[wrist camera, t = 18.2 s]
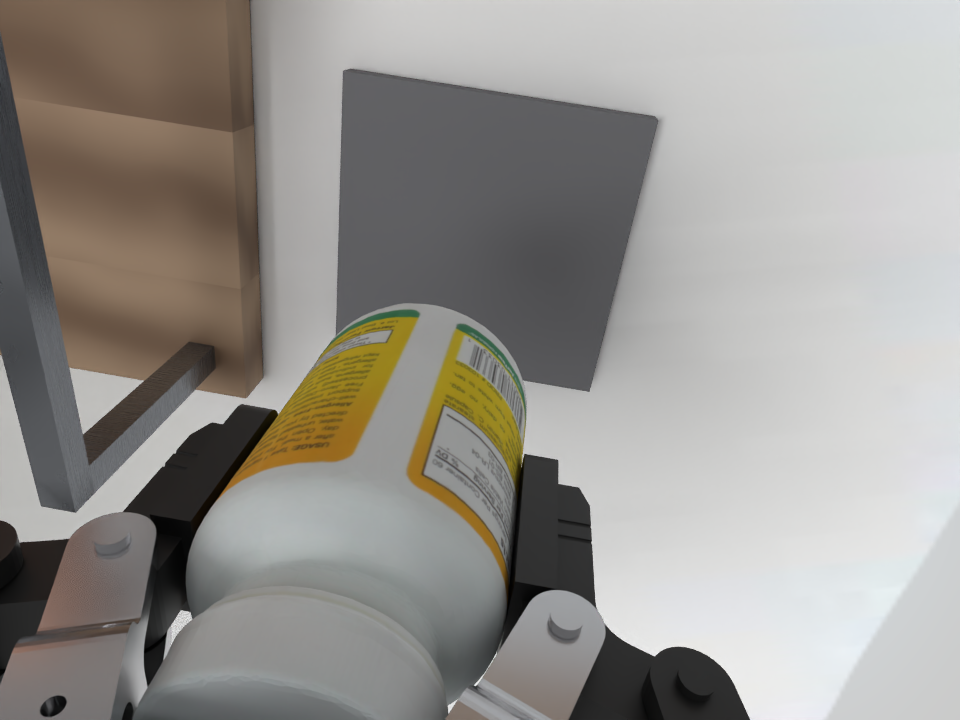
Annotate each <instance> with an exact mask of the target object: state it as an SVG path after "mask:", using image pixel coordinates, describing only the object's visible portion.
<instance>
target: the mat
mask: <svg viewBox="0 0 960 720" xmlns="http://www.w3.org/2000/svg"><path fill="white" fill-rule="evenodd" d="M657 123H658V120H657V118H656V117H654V116H648V115H642V114H635V113H629V112H622V111H616V110H610V109H603V108H597V107H591V106H584V105H578V104H571V103H565V102H559V101H552V100H546V99H539V98H533V97H527V96H520V95H514V94H508V93H501V92H495V91H488V90H482V89H476V88H469V87H463V86H456V85H450V84H444V83H437V82H431V81H425V80H418V79H412V78H405V77H399V76H393V75H386V74H380V73H373V72H367V71H361V70H354V69H349V70H345V71H343V94H342V131H341V168H340V205H339V242H338V279H337V316H336V335H337V334H338V333H339V332H340V331H342V330H343V329H344V328H345V327H346V326H347V325H349V324H350V323H352V322H353V321H355V320H356V319H358V318H360V317H361V316H364V315H366V314H368V313H371V312H373V311H376V310H378V309H382V308H385V307H389V306H393V305H397V304H403V303H413V304H429V305H436V306H440V307H444V308H448V309H451V310H454V311H456V312H459V313H461V314H463V315H466V316H468V317H469V318H471V319H473V320H475V321H476V322H478V323H479V324H481V325H483V326H484V327H485V328H487V329H488V330H489V331H490V332H491V333H492V334H494V335H495V336H496V337H497V338H498V339H499V341H500V342H501V343H502V344H503V345H504V346H505V347H506V349H507V350H508V352H509V353H510V355H511V356H512V358H513V359H514V361H515V363H516V365H517V367H518V369H519V372H520V374H521V377H522V380H524V381H530V382H536V383H542V384H547V385H553V386H559V387H565V388H571V389H577V390H582V391H588V392H590V388H591V384H592V380H593V376H594V372H595V368H596V364H597V360H598V356H599V352H600V348H601V344H602V340H603V336H604V332H605V328H606V324H607V321H608V317H609V313H610V309H611V305H612V301H613V297H614V293H615V289H616V285H617V281H618V277H619V273H620V269H621V265H622V261H623V257H624V253H625V249H626V245H627V242H628V238H629V234H630V230H631V226H632V222H633V218H634V214H635V210H636V206H637V202H638V198H639V194H640V190H641V186H642V182H643V178H644V174H645V170H646V167H647V163H648V159H649V155H650V151H651V147H652V143H653V139H654V135H655V131H656V127H657Z"/></svg>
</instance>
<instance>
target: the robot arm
mask: <svg viewBox="0 0 960 720" xmlns="http://www.w3.org/2000/svg"><path fill="white" fill-rule="evenodd" d="M277 416H278V413H277V411H276V410H272V409H267V408H261V407H255V406H249V405H244V404H241V405H239V406H238V407H237V408H236V409H235V410H234V412H233V413H232V414H231V415H230V417H229V418H228V419H227V420H226V421H225V423H224V424H217V423H210V424H208V425H207V426H205V427H203V428H201V429H200V430H198V431H196V432H194V433H193V434H191V435H190V436H189V437H188V438H187V439H186V440H185V441H184V443H183V444H182V445H181V446H180V447H179V448H178V449H177V451H176V454H173V455H172V456H171V457H170V459H169V460H168V461H167V462H166V463H165V467H162V468H161V469H160V470H159V471H158V472H157V473H156V475H155V476H154V477H153V478H152V479H151V480H150V481H149V483H148V484H147V485H146V486H145V487H144V488H143V489H142V491H141V492H140V493H139V494H138V495H137V496H136V497H135V499H134V500H133V501H132V502H131V503H130V504H129V505H128V507H127V508H126V509H125V510H124V511H123V512H119V513H112V514H108V515H104V516H101V517H98V518H96V519H94V520H91V521H89V522H88V523H86V524H84V525H83V526H82V527H80V528H79V529H78V530H77V531H76V532H75V533H74V534H73V535H72V536H71V537H70V539H64V540H51V541H37V542H22V543H19V540H18V536H17V533H16V530H15V529H14V527H12V526H11V525H10V524H8V523H6V522H4V521H0V720H132V719H133V716H134V713H135V711H136V709H137V706H138V704H139V702H140V700H141V698H142V696H143V695H144V693H145V691H146V690H147V688H148V686H149V684H150V683H151V681H152V679H153V678H154V676H155V674H156V673H157V671H158V669H159V667H160V666H161V664H162V662H163V661H164V659H165V657H166V656H167V654H168V651H169V649H170V647H171V639H172V631H171V624H172V623H173V621H174V620H175V618H176V616H177V615H178V613H179V612H180V610H184V611H189V612H190V608H189V604H188V599H187V591H186V567H187V561H188V555H189V551H190V548H191V545H192V542H193V539H194V537H195V534H196V532H197V530H198V528H199V526H200V525H201V523H202V521H203V519H204V518H205V516H206V515H207V513H208V512H209V510H210V509H211V507H212V506H213V504H214V503H215V502H216V500H217V499H218V498H219V496H220V495H221V493H222V492H223V491H224V489H225V488H226V487H227V485H228V484H229V482H230V481H231V479H232V478H233V476H234V475H235V474H236V472H237V471H238V470H239V468H240V467H241V466H242V465H243V463H244V462H245V461H246V459H247V458H248V456H249V455H250V454H251V452H252V451H253V450H254V448H255V447H256V445H257V444H258V443H259V441H260V440H261V438H262V437H263V435H264V434H265V433H266V431H267V430H268V429H269V427H270V426H271V425H272V423H273V422H274V421H275V419H276V418H277ZM590 526H591V520H590V506H589V504H588V502H587V501H586V499H585V497H584V495H583V494H582V492H581V490H580V489H579V488H578V487H572V486H566V485H561V484H558V460H555V459H550V458H544V457H538V456H533V455H527V454H525V455H524V458H523V462H522V467H521V475H520V485H519V494H518V505H517V516H516V526H515V537H514V546H513V556H512V565H511V576H510V586H509V595H508V606H507V613H506V620H505V627H504V631H503V634H502V638H501V641H500V644H499V647H498V649H497V655H496V657H495V658H494V660H493V662H492V663H491V665H490V666H489V668H488V670H487V671H486V673H485V674H484V676H483V678H482V679H481V681H480V682H479V683H478V685H477V686H474V685H470V686H468V687H467V688H466V689H465V690H464V692H463V693H462V694H461V696H460V697H459V699H458V700H457V702H456V703H455V705H454V707H453V708H452V710H451V711H450V713H449V714H448V716H447V717H446V719H445V720H750V719H749V716H748V714H747V712H746V710H745V708H744V705H743V703H742V701H741V699H740V697H739V694H738V692H737V690H736V688H735V686H734V684H733V682H732V680H731V678H730V677H729V675H728V674H727V673H726V671H725V670H724V669H723V668H722V667H721V666H720V665H719V664H718V663H716V662H715V661H714V660H713V659H711V658H710V657H708V656H707V655H705V654H703V653H701V652H699V651H696V650H694V649H690V648H686V647H671V648H667V649H665V650H663V651H661V652H659V653H658V654H657V655H656V656H655V657H654V656H652V655H650V654H648V653H646V652H644V651H642V650H640V649H638V648H636V647H634V646H631V645H630V644H628V643H626V642H624V641H623V640H621V639H620V638H618V637H617V636H616V635H615V634H614V633H612V632H611V631H610V630H609V628H608V627H607V626H606V625H605V624H604V621H603V619H602V617H601V615H600V613H599V612H598V611H597V608H596V603H595V590H594V572H593V555H592V544H591V541H592V537H591V528H590Z"/></svg>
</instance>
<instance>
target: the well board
mask: <svg viewBox="0 0 960 720" xmlns="http://www.w3.org/2000/svg"><path fill="white" fill-rule="evenodd" d="M0 32H1V37H2V42H3V47H4V52H5V57H6V62H7V67H8V72H9V76H10V81H11V86H12V91H13V96H14V101H15V106H16V111H17V116H18V120H19V125H20V130H21V135H22V140H23V145H24V150H25V155H26V160H27V165H28V169H29V174H30V179H31V184H32V189H33V194H34V199H35V204H36V209H37V214H38V218H39V223H40V228H41V233H42V238H43V243H44V248H45V253H46V258H47V262H48V267H49V272H50V277H51V282H52V287H53V292H54V297H55V302H56V307H57V311H58V316H59V321H60V326H61V331H62V336H63V341H64V346H65V351H66V356H67V360H68V365H69V367H70V368H76V369H82V370H87V371H93V372H99V373H105V374H110V375H116V376H122V377H127V378H133V379H139V380H146V379H147V378H148V377H149V376H150V375H152V374H153V373H154V372H155V371H156V370H157V369H158V368H160V367H161V366H162V365H163V364H164V363H165V362H166V361H167V360H169V359H170V358H171V357H172V356H173V355H174V354H175V353H177V352H178V351H179V350H180V349H181V348H182V347H183V346H184V345H186V344H187V343H188V342H195V343H200V344H206V345H212V346H214V350H215V363H216V369H215V370H214V371H213V372H212V373H211V374H210V375H209V376H208V377H207V378H206V379H205V380H204V381H203V382H202V383H201V384H200V385H199V386H198V387H197V388H196V390H202V391H207V392H213V393H219V394H224V395H230V396H236V397H241V398H247V397H248V396H249V394H250V393H251V392H252V391H253V389H254V388H255V387H256V386H257V385H258V383H259V382H260V381H261V380H262V378H263V361H262V333H261V305H260V278H259V250H258V222H257V194H256V166H255V138H254V110H253V83H252V55H251V27H250V0H0ZM0 355H2V354H1V350H0Z"/></svg>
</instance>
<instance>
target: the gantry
mask: <svg viewBox="0 0 960 720" xmlns="http://www.w3.org/2000/svg"><path fill="white" fill-rule="evenodd" d="M0 350H1V354H2V358H3V361H4V365H5V369H6V373H7V377H8V381H9V385H10V388H11V392H12V396H13V400H14V404H15V408H16V412H17V415H18V419H19V423H20V427H21V431H22V435H23V438H24V442H25V446H26V450H27V454H28V458H29V462H30V465H31V469H32V473H33V477H34V481H35V485H36V489H37V492H38V496H39V500H40V504H41V506H42V507H48V508H53V509H59V510H64V511H70V512H75V513H76V512H77V511H78V510H79V509H80V508H81V507H82V506H83V505H84V503H85V502H86V501H87V500H88V499H89V498H90V497H91V496H92V495H93V494H94V493H95V492H96V491H97V490H98V489H99V488H100V487H101V486H102V485H103V484H104V483H105V482H106V481H107V480H108V479H109V478H110V477H111V476H112V475H113V474H114V473H115V472H116V471H117V470H118V469H119V467H120V466H121V465H122V464H123V463H124V462H125V461H126V460H127V459H128V458H129V457H130V456H131V455H132V454H133V453H134V452H135V451H136V450H137V449H138V448H139V447H140V446H141V445H142V444H143V443H144V442H145V441H146V440H147V439H148V438H149V437H150V436H151V435H152V434H153V433H154V431H155V430H156V429H157V428H158V427H159V426H160V425H161V424H162V423H163V422H164V421H165V420H166V419H167V418H168V417H169V416H170V415H171V414H172V413H173V412H174V411H175V410H176V409H177V408H178V407H179V406H180V405H181V404H182V403H183V402H184V401H185V400H186V399H187V398H188V396H189V395H190V394H191V393H192V392H193V391H194V390H195V389H196V388H197V387H198V386H199V385H200V384H201V383H202V382H203V381H204V380H205V379H206V378H207V377H208V376H209V375H210V374H211V373H212V372H213V371H214V370H215V369H216V363H215V350H214V346H212V345H206V344H200V343H195V342H188V343H187V344H186V345H184V346H183V347H182V348H181V349H180V350H179V351H178V352H177V353H175V354H174V355H173V356H172V357H171V358H170V359H169V360H167V361H166V362H165V363H164V364H163V365H162V366H161V367H160V368H158V369H157V370H156V371H155V372H154V373H153V374H152V375H150V376H149V377H148V378H147V379H146V380H145V381H144V382H143V383H141V384H140V385H139V386H138V387H137V388H136V389H135V390H133V391H132V392H131V393H130V394H129V395H128V396H127V397H126V398H124V399H123V400H122V401H121V402H120V403H119V404H118V405H116V406H115V407H114V408H113V409H112V410H111V411H110V412H109V413H107V414H106V415H105V416H104V417H103V418H102V419H101V420H99V421H98V422H97V423H96V424H95V425H94V426H93V427H92V428H90V429H89V430H88V431H87V432H86V433H85V434H84V435H83V434H82V429H81V424H80V419H79V414H78V409H77V404H76V400H75V395H74V390H73V385H72V380H71V375H70V370H69V365H68V360H67V356H66V351H65V346H64V341H63V336H62V331H61V326H60V321H59V316H58V311H57V307H56V302H55V297H54V292H53V287H52V282H51V277H50V272H49V267H48V262H47V258H46V253H45V248H44V243H43V238H42V233H41V228H40V223H39V218H38V214H37V209H36V204H35V199H34V194H33V189H32V184H31V179H30V174H29V169H28V165H27V160H26V155H25V150H24V145H23V140H22V135H21V130H20V125H19V120H18V116H17V111H16V106H15V101H14V96H13V91H12V86H11V81H10V76H9V72H8V67H7V62H6V57H5V52H4V47H3V42H2V37H1V32H0Z"/></svg>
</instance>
